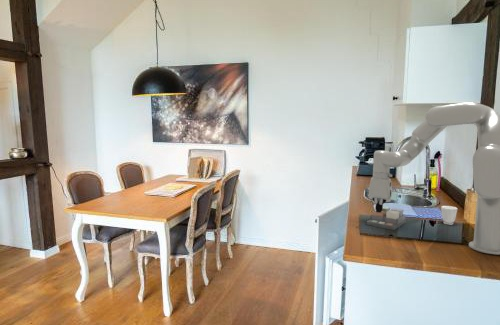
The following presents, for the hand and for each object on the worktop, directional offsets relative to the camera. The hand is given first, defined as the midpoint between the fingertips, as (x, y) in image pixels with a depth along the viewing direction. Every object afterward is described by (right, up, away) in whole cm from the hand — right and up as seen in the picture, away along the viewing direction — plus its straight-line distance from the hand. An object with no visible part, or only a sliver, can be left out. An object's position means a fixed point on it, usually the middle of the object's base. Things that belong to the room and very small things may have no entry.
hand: (378, 211), depth 160 cm
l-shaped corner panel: (+19, -2, +37) cm, 42 cm away
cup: (+35, -6, 0) cm, 35 cm away
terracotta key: (0, -3, 0) cm, 3 cm away
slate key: (+9, -2, 0) cm, 9 cm away
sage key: (+4, -1, +4) cm, 6 cm away
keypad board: (+3, -6, -1) cm, 7 cm away
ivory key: (+5, -2, -4) cm, 7 cm away
